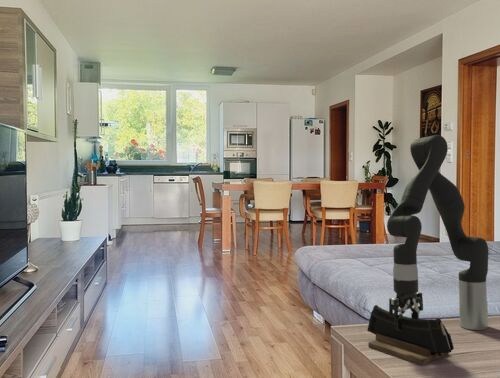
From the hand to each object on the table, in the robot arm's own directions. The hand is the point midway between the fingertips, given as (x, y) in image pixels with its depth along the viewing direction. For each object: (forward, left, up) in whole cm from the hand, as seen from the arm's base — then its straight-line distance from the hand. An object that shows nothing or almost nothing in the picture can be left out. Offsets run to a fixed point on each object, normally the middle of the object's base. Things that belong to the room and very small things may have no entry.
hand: (406, 327), depth 148 cm
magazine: (0, 0, -6) cm, 6 cm away
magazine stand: (0, 0, -7) cm, 7 cm away
